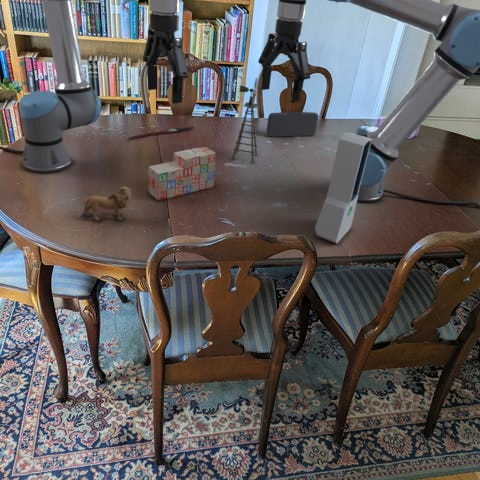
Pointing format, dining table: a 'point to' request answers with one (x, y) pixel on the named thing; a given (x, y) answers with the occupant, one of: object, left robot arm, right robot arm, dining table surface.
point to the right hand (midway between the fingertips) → (279, 95)
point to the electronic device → (343, 187)
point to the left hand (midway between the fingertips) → (164, 96)
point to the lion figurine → (109, 203)
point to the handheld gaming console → (292, 124)
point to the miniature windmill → (250, 106)
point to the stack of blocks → (183, 173)
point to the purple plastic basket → (381, 119)
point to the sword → (162, 132)
